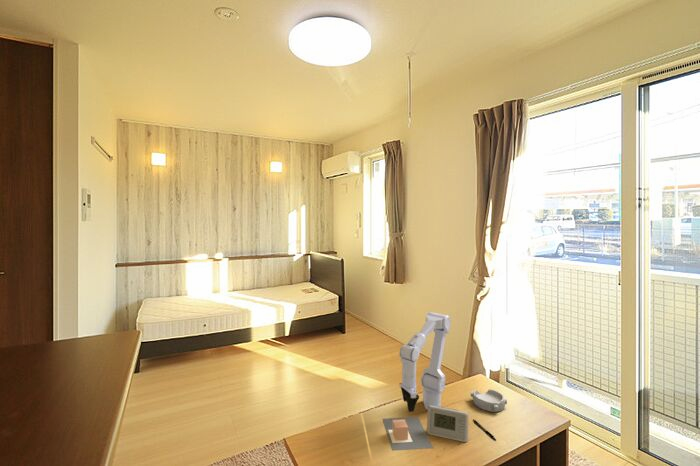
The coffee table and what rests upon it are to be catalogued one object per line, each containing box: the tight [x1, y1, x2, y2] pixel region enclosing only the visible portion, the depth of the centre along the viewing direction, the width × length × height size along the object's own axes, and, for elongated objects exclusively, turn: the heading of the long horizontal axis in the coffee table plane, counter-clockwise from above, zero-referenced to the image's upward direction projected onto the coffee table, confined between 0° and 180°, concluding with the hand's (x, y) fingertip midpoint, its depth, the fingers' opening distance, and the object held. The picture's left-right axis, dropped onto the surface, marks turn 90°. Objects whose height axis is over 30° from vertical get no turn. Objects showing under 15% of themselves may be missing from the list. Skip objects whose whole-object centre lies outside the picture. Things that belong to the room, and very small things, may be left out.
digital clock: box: [426, 405, 470, 443], centre depth 134 cm, size 16×9×11 cm, turn 58°
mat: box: [382, 416, 434, 451], centre depth 135 cm, size 20×16×1 cm
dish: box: [470, 388, 508, 413], centre depth 157 cm, size 14×14×5 cm
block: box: [392, 419, 408, 440], centre depth 132 cm, size 5×5×5 cm
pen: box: [472, 419, 497, 441], centre depth 138 cm, size 14×2×1 cm, turn 16°
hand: (408, 406), depth 139 cm, fingers open, 7 cm apart
